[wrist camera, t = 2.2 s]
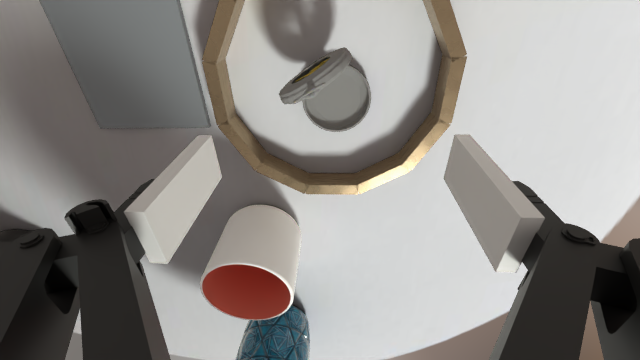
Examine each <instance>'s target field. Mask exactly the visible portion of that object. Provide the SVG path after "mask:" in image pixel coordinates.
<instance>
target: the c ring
mask: <svg viewBox="0 0 640 360" xmlns="http://www.w3.org/2000/svg"><path fill="white" fill-rule="evenodd" d="M244 1H245V0H219V3H218V6H217V10H216V13H215V16H214V20H213V23H212V27H211V30H210V34H209V37H208V41H207V44H206V48H205V51H204V54H203V58H202V60H204V61H203V62H202V64H203V68H204V72H205V77H206V81H207V85H208V89H209V94H210V98H211V102H212V106H213V110H214V115H215V119H216V123H217V125H219V126H218V127H219V129H220V130H221V131H222V132H223V133H224V135H225V136H226V137H227V138H228V139H229V140H230V142H231V143H232V144H233V145H234V146H235V148H236V149H237V150H238V151H239V152H240V154H241V155H242V156H243V157H244V158H245V159H246V161H247V162H248V163H249V164H250V165H251V167H252V168H253V169H254V170H256V169H257V171H256V172H258V173H260V174H263V175H265V176H267V177H269V178H271V179H273V180H276V181H278V182H280V183H282V184H284V185H287V186H289V187H291V188H293V189H295V190H297V191H300V192H302V193H305V192H306V194H358V192H359V194H361V193H363V192H366V191H368V190H370V189H372V188H374V187H377V186H379V185H381V184H383V183H386V182H388V181H390V180H392V179H395V178H397V177H399V176H401V175H404V174H406V173H408V172H410V171H409V170H412V169H413V168H414V167H415V166H416V164H417V163H418V162H419V161H420V160H421V159H422V157H423V156H424V155H425V154H426V153H427V152H428V151H429V149H430V148H431V147H432V146H433V145H434V144H435V142H436V141H437V140H438V139H439V138H440V137H441V135H442V134H443V133H444V132H445V131H446V130H447V128H448V127H449V126H450V124H449V123H452V118H453V114H454V110H455V106H456V101H457V97H458V93H459V89H460V84H461V80H462V76H463V72H464V67H465V63H466V59H467V56H465V55H466V54H467V53H466V50H465V47H464V43H463V40H462V37H461V34H460V31H459V28H458V25H457V22H456V18H455V15H454V12H453V9H452V6H451V3H450V0H423V2H424V5H425V8H426V11H427V13H428V16H429V19H430V22H431V24H432V27H433V30H434V33H435V36H436V38H437V41H438V44H439V47H440V49H441V52H442V58H441V64H440V69H439V74H438V79H437V85H436V90H435V95H434V100H433V106H432V111H431V113H430V114H429V115H428V116H427V118H426V119H425V120H424V122H423V123H422V124H421V125H420V127H419V128H418V129H417V130H416V132H415V133H414V134H413V135H412V137H411V138H410V139H409V140H408V142H407V143H406V144H405V145H404V147H403V148H402V149H401V150H400V152H399V153H397V154H395V155H393V156H391V157H389V158H386V159H384V160H382V161H380V162H378V163H376V164H374V165H372V166H370V167H367V168H365V169H363V170H361V171H359V172H357V173H308V172H306V171H304V170H302V169H299V168H297V167H295V166H293V165H291V164H289V163H287V162H285V161H283V160H281V159H279V158H277V157H275V156H272V155H270V154H268V153H267V152H266V151H265V150H264V148H263V147H262V146H261V145H260V143H259V142H258V141H257V139H256V138H255V137H254V136H253V134H252V133H251V132H250V131H249V129H248V128H247V127H246V126H245V124H244V123H243V122H242V120H241V119H240V118H239V117H238V115H237V114H236V111H235V106H234V101H233V95H232V90H231V85H230V80H229V75H228V70H227V64H226V59H225V58H226V55H227V52H228V49H229V46H230V43H231V40H232V37H233V34H234V31H235V28H236V25H237V22H238V19H239V16H240V13H241V10H242V7H243V4H244Z"/></svg>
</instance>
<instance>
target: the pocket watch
mask: <svg viewBox="0 0 640 360" xmlns="http://www.w3.org/2000/svg"><path fill="white" fill-rule="evenodd" d="M351 59H352V55H351V53H350V52H349V51H348V50H347V48H340V49H338V50H335V51H333V52H331V53H329V54H327V55H325V56H324V57H322V58H320V59H319V60H317V61H316V62H314V63H313V64H311V65H310V66H308V67H307V68H306V69H304V70H303V71H301V72H300V73H299V74H298V75H297V76H295V77H294V78H293V79H292V80H290V81H289V82H288V83H287V84H286V85H285V87H284V88H283V89H282V90H281V91H280V93H279V95H280V98H281V100H282V102H283V103H284V104H296V103H298V102H300V101H303V107H304V110H305V112H306V114H307V116H308V118H309V119H310V120H311V121H312V122H313V123H314V124H315V125H316V126H318V127H319V128H321V129H324V130H327V131H332V132H340V131H346V130H349V129H351V128H353V127H355V126H356V125H357V124H359V123H360V122H361V121H362V120H363V119H364V117H365V116H366V114H367V112H368V110H369V107H370V103H371V92H370V87H369V84H368V81H367V80H366V79H365V77H364V76H363V74H362V73H361V72H359V71H358V70H357V69H356V68H354V67H352V66H350V65H349V63H350V61H351Z"/></svg>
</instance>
